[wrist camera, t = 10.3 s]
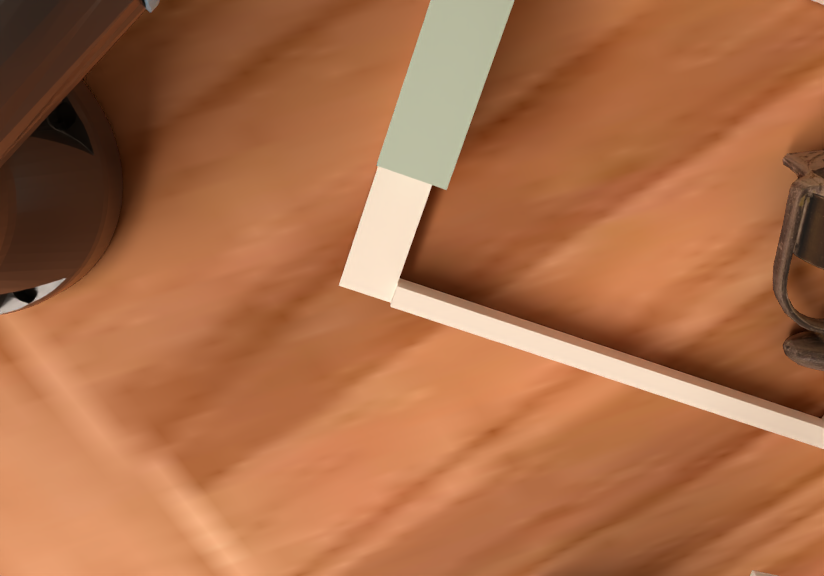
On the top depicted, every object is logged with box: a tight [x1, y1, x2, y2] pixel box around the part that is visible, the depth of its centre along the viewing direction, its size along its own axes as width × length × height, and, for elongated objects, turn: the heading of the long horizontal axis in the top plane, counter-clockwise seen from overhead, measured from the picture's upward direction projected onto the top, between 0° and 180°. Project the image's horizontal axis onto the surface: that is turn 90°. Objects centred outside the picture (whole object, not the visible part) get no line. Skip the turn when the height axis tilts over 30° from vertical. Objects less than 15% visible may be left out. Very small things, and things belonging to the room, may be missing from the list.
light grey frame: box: [339, 0, 824, 449], centre depth 32 cm, size 31×23×10 cm
